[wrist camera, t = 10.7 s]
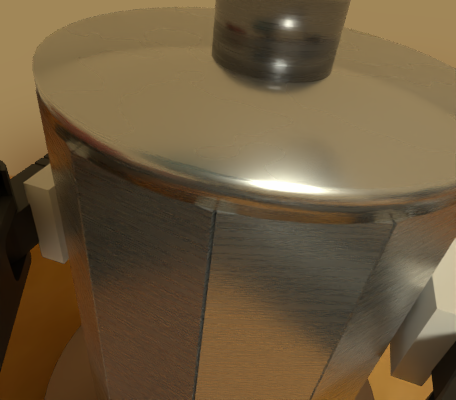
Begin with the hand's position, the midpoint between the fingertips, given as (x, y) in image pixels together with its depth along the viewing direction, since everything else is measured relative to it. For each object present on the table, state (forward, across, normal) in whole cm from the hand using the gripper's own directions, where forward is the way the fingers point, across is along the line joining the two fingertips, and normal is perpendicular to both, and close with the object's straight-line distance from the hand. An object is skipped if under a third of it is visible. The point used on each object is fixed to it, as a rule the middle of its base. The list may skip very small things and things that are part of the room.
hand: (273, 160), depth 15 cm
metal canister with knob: (-4, 0, -7) cm, 8 cm away
